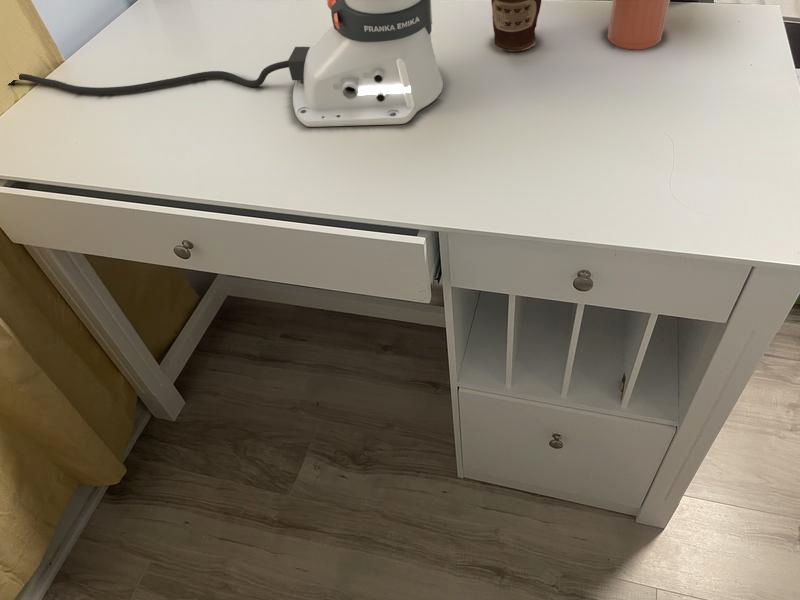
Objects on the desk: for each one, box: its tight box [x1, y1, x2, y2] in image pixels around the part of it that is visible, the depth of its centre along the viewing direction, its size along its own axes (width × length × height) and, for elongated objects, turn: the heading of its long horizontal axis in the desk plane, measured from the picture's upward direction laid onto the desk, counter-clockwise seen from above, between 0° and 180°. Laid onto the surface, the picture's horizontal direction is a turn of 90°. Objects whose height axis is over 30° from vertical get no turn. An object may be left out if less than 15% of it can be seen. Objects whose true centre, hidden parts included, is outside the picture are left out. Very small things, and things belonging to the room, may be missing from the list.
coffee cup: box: [490, 0, 542, 52], centre depth 100 cm, size 9×8×13 cm
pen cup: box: [607, 0, 671, 50], centre depth 99 cm, size 8×8×10 cm
